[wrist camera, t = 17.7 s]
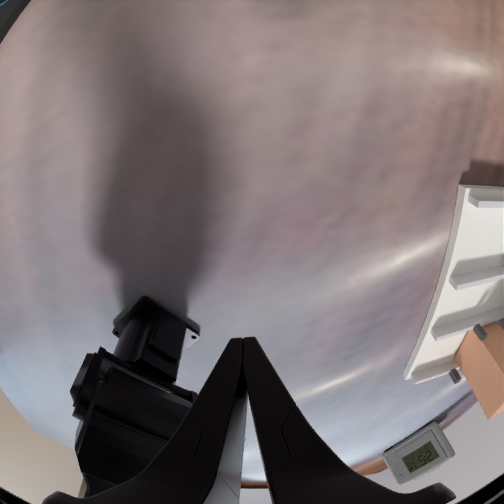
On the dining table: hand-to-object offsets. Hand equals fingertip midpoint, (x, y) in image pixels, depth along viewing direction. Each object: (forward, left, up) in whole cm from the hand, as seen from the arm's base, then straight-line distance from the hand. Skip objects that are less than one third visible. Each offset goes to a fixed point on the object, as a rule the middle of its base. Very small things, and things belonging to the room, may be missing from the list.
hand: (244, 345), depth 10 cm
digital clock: (-10, -62, -12) cm, 64 cm away
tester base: (+14, -26, -12) cm, 31 cm away
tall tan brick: (+10, -32, -11) cm, 36 cm away
